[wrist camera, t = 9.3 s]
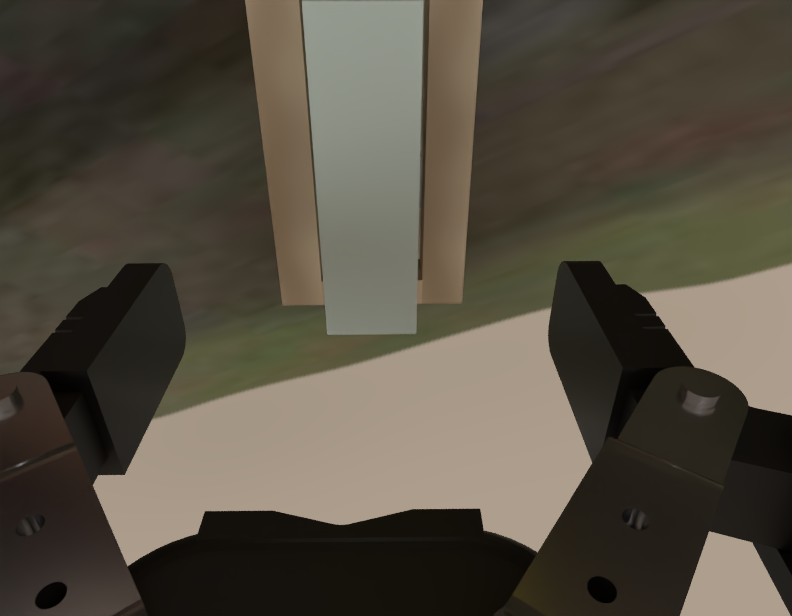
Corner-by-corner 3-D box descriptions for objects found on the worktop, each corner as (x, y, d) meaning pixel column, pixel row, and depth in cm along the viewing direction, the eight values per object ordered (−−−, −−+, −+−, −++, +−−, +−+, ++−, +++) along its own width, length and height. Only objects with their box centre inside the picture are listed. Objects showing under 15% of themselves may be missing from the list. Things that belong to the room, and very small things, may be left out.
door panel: (412, -20, 21) (428, 0, 14) (409, 232, 27) (419, 333, 20) (323, -20, 21) (297, 0, 14) (338, 233, 27) (324, 335, 20)
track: (478, -102, 20) (490, -107, 18) (455, 274, 28) (461, 303, 26) (248, -102, 20) (232, -107, 18) (290, 276, 28) (282, 305, 26)
